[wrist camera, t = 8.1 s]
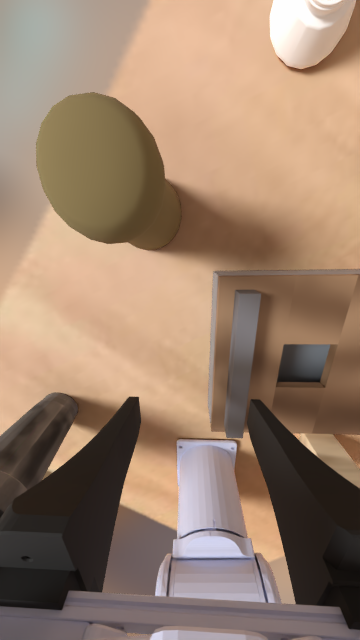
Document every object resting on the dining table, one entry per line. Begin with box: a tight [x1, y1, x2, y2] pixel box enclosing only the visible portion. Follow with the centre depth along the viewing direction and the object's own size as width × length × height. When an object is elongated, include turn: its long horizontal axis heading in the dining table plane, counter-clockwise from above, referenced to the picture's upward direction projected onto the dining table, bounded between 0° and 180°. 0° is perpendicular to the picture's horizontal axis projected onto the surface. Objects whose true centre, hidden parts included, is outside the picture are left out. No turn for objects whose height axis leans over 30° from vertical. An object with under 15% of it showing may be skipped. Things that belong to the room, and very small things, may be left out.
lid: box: [211, 274, 360, 438], centre depth 17 cm, size 16×22×2 cm
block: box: [299, 433, 360, 488], centre depth 23 cm, size 4×4×7 cm
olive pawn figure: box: [36, 92, 182, 250], centre depth 12 cm, size 6×6×11 cm
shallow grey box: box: [208, 269, 360, 423], centre depth 20 cm, size 16×22×3 cm
